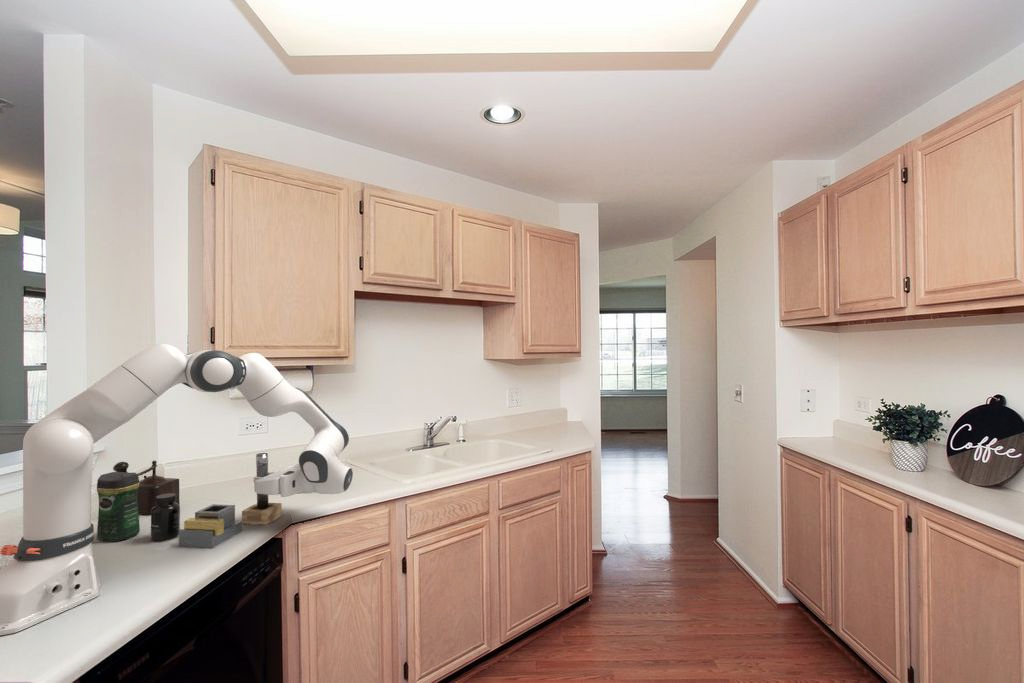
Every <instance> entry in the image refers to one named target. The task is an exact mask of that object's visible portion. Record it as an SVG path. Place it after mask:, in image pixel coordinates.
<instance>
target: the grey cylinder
mask: <svg viewBox="0 0 1024 683" xmlns="http://www.w3.org/2000/svg"><path fill="white" fill-rule="evenodd" d="M255 457H256V458H255V460H256V461H255V462H256V463H255V466H256V477H257V476H262V477H265V476H267V475H268V472H269V454H268V452H260V453H256V455H255ZM256 503H257V510H265V509H267V508H269V507H268V503H269V495H266V494H258V493H256Z"/></svg>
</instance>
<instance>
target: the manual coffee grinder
mask: <svg viewBox="0 0 1024 683" xmlns="http://www.w3.org/2000/svg"><path fill="white" fill-rule="evenodd" d="M157 467H158V465H157V461H156V460H152V461H151V466H150V467H149V468H148V469H145V470H143V471H141V472H138V473H137V474H138V477H139V476H143V475H144V474H147V473H149V472H151V471H152V473H151V474H152V475H150V476H147V475H144V476H143V478H142V479H141V480H140V479H139V487H138V493H137V500H138V514H139V516H150V517H151V510H152V508H153V507H154V506H156V504H155V502H156V497H157V496H159V495H162V494H168V493H174V494H176V501H175V502H176V503H178V504H179V505H181V504H180V478H175V477H174V478H172V477H165V476H160V475H157V473H156V471H157V469H156V468H157ZM128 469H129V463H128V462H127V461H119V462H117V463H116V464H114V466H113V467H112V470H113V472H128Z"/></svg>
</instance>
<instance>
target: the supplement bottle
mask: <svg viewBox="0 0 1024 683" xmlns="http://www.w3.org/2000/svg"><path fill="white" fill-rule="evenodd" d="M175 501H176V494H174V493H168V494H162V495H159V496H157V497H156V502H155V504H156V506H154V507H153V508H152V510H151V515H150V539H151V541H153V542H158V543H159V542H167V541H170V540H173V539H175V538H176V539H177V537H179V530H180V529H181V516H180V515H181V506H180V505H181V504H180V505H179V504H178V503H176V502H175Z"/></svg>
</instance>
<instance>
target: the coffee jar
mask: <svg viewBox="0 0 1024 683" xmlns="http://www.w3.org/2000/svg"><path fill="white" fill-rule="evenodd" d="M139 478H140V477H139V476H138V473H136V472H128V471H127V472H116V471H112V472H108V473H103V474H101V475H100V476H99V477H98V478H97V480H96V481H97V483H96V492H97V495H98V496H97V497H98V513H97V514H98V515H97V516H98V519H97V528H96V537H97V539H98V540H99V541H103V542H105V541H107V542H118V541H121V540H126V539H131V538H133V537H134V536H136V535H138V534H139V532H141V531H140V527H141V526H140V517H139V516H140V515H139V514H138V500H137V493H138V487H139V481H140V479H139Z"/></svg>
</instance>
